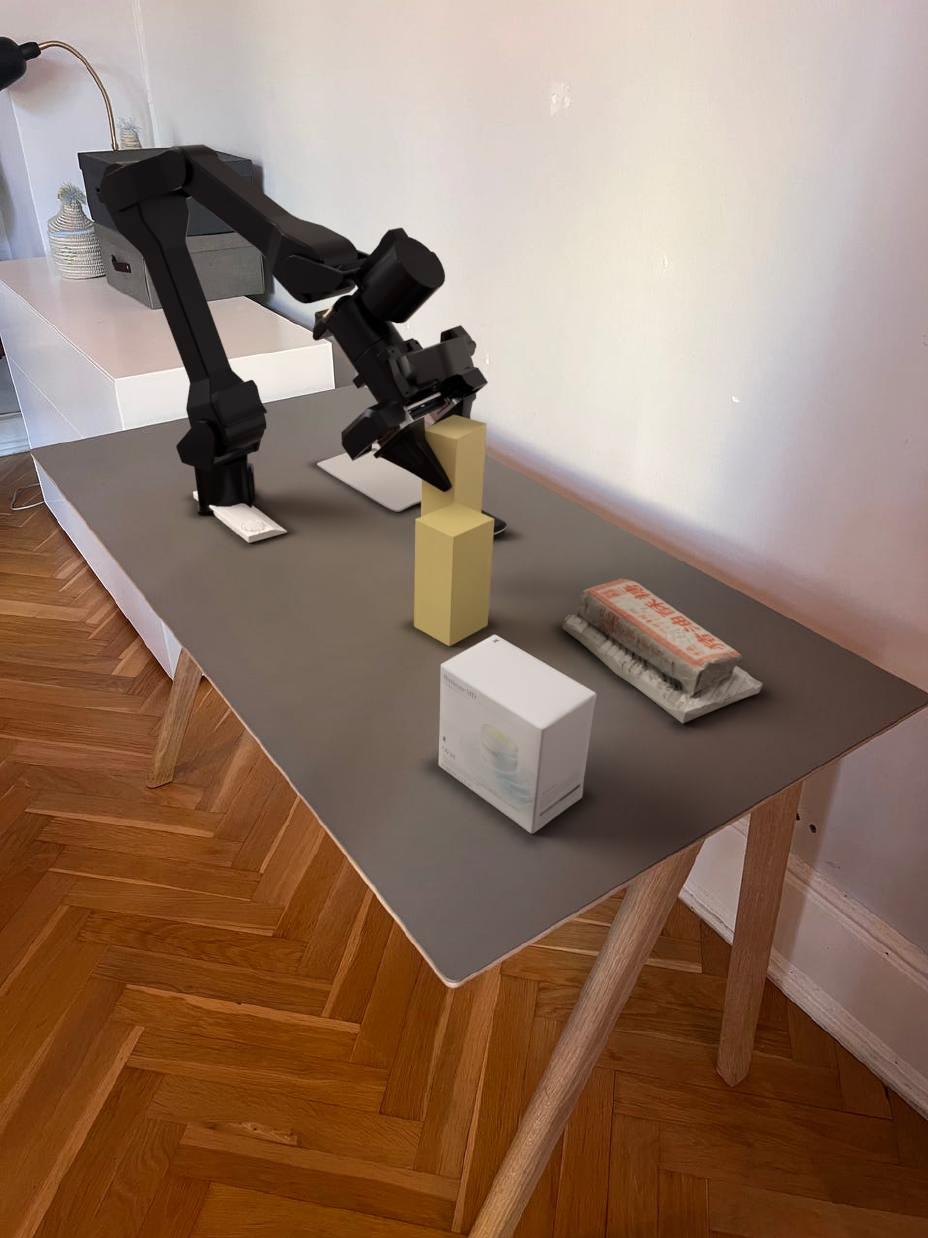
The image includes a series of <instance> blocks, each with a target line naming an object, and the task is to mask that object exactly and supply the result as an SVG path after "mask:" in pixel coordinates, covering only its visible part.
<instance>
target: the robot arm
mask: <svg viewBox="0 0 928 1238" xmlns="http://www.w3.org/2000/svg"><path fill="white" fill-rule="evenodd" d="M99 191H100V195H101V199H102V201H103V204H104V206H105V208H106V210H107V213H108V214H109V216H110V218H111V220H112V222H113V224H114V226H115V228H116V230H117V232H118V233H119V234H120V235H121V236H122V237H124V239H126V241H127V242H129V243H130V245H132V246H133V247H134V248H135V249H136V250H137V251H138V252H139V253H140V254H141V256H142V259H143V261H144V265H145V266H146V269H147V272H148V274H149V276H150V280H151V282H152V285H153V287H154V290H155V293H156V295H157V298H158V301H159V304H160V306H161V310H162V311H163V314H164V316H165V317H164V318H165V320H166V322H167V325H168V327H169V330H170V332H171V335H172V338H173V340H174V344H175V346H176V349H177V351H178V354H179V356H180V359H181V362H182V365H183V367H184V370H185V372H186V375H187V378H188V382H189V386H188V393H187V401H186V405H185V406H186V407H185V411H186V414H187V418H188V422H189V425H190V429H188V431H187V432H186V433H185V435H184V436H183V437H182V438H181V439H180V440H179V441H178V443H177V444H176V445H175V448H176V451H177V453H178V457H179V458H180V459H179V460H180V461H181V463H182V464H184V465H187V466H190V467H193V469H194V476H195V484H196V485H195V486H196V491H197V494H198V501H197V508H196V512H197V514H198V515H214V511H213V510H212V509H211V508H210V507H209V505H212V506H216V507H226V506H227V507H231V506H233V505H237V504H240V503H241V504H246V505H247V506H249V507H250V508H252V505H253V503H255V502H256V496H257V491H256V480H255V478H256V477H255V467H254V464H253V463H252V462H249V455H250V454H252V453H256V452H258V451H259V450H260V446H261V443H262V438H263V436H264V435H265V430H266V429H267V420H266V416H265V414H268V410H267V409H266V407H265V405H264V404H263V402H262V399H261V396H260V393H259V388H258V385H257V384H256V382H255V380H253V379H249V380H246V381H245V380H243V379H242V378H241V377H240V376H239V375H238V374H237V373H236V372H235V371H234V370H233V368H232V366H231V364H230V361H229V359H228V356H227V353H226V349H225V347H224V345H223V343H222V339H221V336H220V333H219V331H218V328H217V325H216V322H215V320H214V317H213V314H212V311H211V309H210V305H209V303H208V300H207V297H206V294H205V291H204V289H203V286H202V284H201V281H200V278H199V275H198V272H197V270H196V267H195V264H194V261H193V258H192V255H191V253H190V250H189V247H188V243H187V234H188V229H189V222H190V216H191V215H190V213H191V212H190V208H189V204H188V200H189V199H191V198H192V199H194V200H195V201H196V202H197V203H198V204H200V205H201V206H202V207H203V208H205V209H206V210H207V211H208V212H210V213H211V214H212V215H214V216H215V217H216V218H217V219H219V220H220V221H221V222H222V223H224V224H225V225H226V226H228V228H230V229H231V230H232V231H234V233H236V234H237V235H238V236H240V237H241V238H243V240H245V241H246V242H247V243H248V244H250V245H251V246H252V247H254V248H255V249H257V250H258V252H260V254H261V255H262V256H263V257H264V258H265V260H266V263H267V265H268V269H269V272H270V274H271V275H272V277H273V278H274V280H276V281H277V282H278V283H279V284H280V286H281V287H282V288H283V289H284V290H285V291H286V293H288V294H289V295H290V296H291V298H293V299H294V300H295V301H297V302H298V303H300V304H304V305H307V304H313V303H317V302H320V301H325V300H328V299H333V298H335V297H338V298H337V299H336V301H335V302H334V303H333V304H332V305H331V307H330V308H326V309H322V310H318V311H315V312H314V325H313V328H312V340H314V341H315V342H317V341H320V340H321V341H322V340H325V339H327V338H330V337H332V338H333V339H334V341H335V342H336V343H337V345H338V346H339V349H341V351H342V353H343V354H344V356H345V357H346V358H347V360H348V361H349V363H350V364H351V366H352V367H353V369H354V371H356V373H357V375H356V376H355V377H354V378H353V379H352V383H353V384H354V386H355V387H356V388H357V390H358V389H360V388H361V389H362V388H364V387H366V388H367V389H368V391H369V392H370V394H371V395H372V397H373V399H374V400H375V401H376V402H377V403H375V404H373V405H370V406H369V407H366V408H365V409H364V410H363V411H362V412H361V413H360V414H359V415H358V416H357V417H356V418H354V419H353V421H352V422H350V423H349V424H348V425H347V426H346V427H345V429H343V430H342V431H341V436H340V437H341V446H342V448H343V449H344V451H345V453H347V454H348V455H349V457H350V458H351V459H352V461H354V460H356V459H358V458H360V457H362V456H364V455H366V454H368V453H369V452H371V451H372V452H373V450H372V444H375V442H376V444H378V445H379V446H380V449H379V450H375V451H376V452H375V451H374V452H375V453H374V454H373V456H374V457H375V458H376V459H377V458H380V457H381V458H383V459H385V460H387V461H389V462H391V463H393V464H395V465H397V466H399V467H401V468H403V469H405V470H407V471H409V472H410V473H412V474H414V475H416V476H417V477H419V478H421V479H422V480H424V481H426V482H427V483H429V484H431V485H432V486H434V487H436V488H437V489H439V490H441V491H443V492H446V491H448V490H449V489H451V488H452V484H451V482H450V480H449V478H448V476H447V474H446V472H445V471H444V469H443V467H442V466H441V464H440V462H439V460H438V459H437V457H436V455H435V454H434V452H433V450H432V449H431V447H430V445H429V444H428V442H427V440H426V438H425V429H426V422H425V420H426V419H425V416H427V415H429V416H430V418H431V419H432V420H433V422H434V423H433V424H431V425H430V426H432V425H434V424H436V423H438V422H440V421H442V420H444V419H446V418H448V417H450V416H452V415H457V416H460V417H464V418H468V419H471V413H472V407H473V405H474V402H475V401H476V399H477V393H479V392H480V391H481V390H482V389H483V388H484V387H485V386H487V385H488V383H489V382H488V380H487V379H486V378H485V375H484V374H483V373H482V371H481V370H480V368H479V367H477V366H475V365H474V362H473V358H472V357H473V356H474V355H475V353H476V349H477V343H476V341H475V340H473V338H472V337H471V335H470V333H468V332H467V331H466V329H465V328H464V327H463V326H462V324H460V325H457V326H454V327H451V328H448V329H446V330H443V331H441V332H440V337H439V342H438V343H435V344H432V345H430V346H426V347H423V346H422V344H421V343H420V342H419V340H417V339H415V338H414V337H412V338H409V339H406V340H405V339H404V338H403V336H402V335H401V334H400V332H399V330H398V329H397V328H396V325H394V324H405V323H406V322H408V321H409V320H410V319H411V318H412V317H413V316H414V315H415V314H416V313H417V312H418V311H419V309H421V308H422V307H423V305H425V304H426V303H427V302H428V300H430V298H431V297H433V295H434V294H436V292H437V291H438V290H439V289H440V288H441V287H442V286H443V285H444V284H445V281H446V272H445V268H444V266H443V263H442V262H441V260H440V258H439V256H438V255H437V254H436V253H435V252H434V251H431V250H430V249H429V247H427V246H426V245H425V244H424V243H423V242H421V241H419V240H418V239H416V238H413V237H410V236H409V235H408V233H407V232H406V230H405V229H404V228H403V227H396V228H391V229H388V230H387V231H386V232H385V233H384V235H383V236H382V238H381V239H380V241H379V243H378V244H377V246H376V247H375V248H374V249H373V250H372V252H371V253H368V252H365V251H362V250H359V249H357V248H356V246H355V245H354V243H353V242H352V241H351V240H350V239H349V238H347V237H346V236H345V235H342V234H340V233H338V232H336V231H334V230H332V229H330V228H328V227H326V226H324V225H322V224H319V223H316V222H313V221H312V222H311V221H308V220H305V219H301V218H299V217H298V216H295V215H293V214H292V213H290V212H289V211H288V210H286V209H285V208H284V207H282V206H281V205H280V204H278V203H277V202H276V201H275V200H273V199H272V198H271V197H270V196H268V195H267V194H266V193H264V192H263V191H262V190H261V189H259V188H258V187H257V186H256V185H255V184H253V183H251V181H249V180H248V179H246V178H245V177H244V176H242V175H241V174H240V173H239V172H237V171H236V170H235V169H233V167H231V166H230V165H228V164H227V163H226V162H224V161H223V160H222V158H220V157H219V155H218V153H217V152H216V151H215V150H214V149H213V148H212V147H210V146H207V145H205V144H186V145H172V146H171V147H169V148H168V149H166V150H164V151H162V152H160V153H158V154H156V155H153V156H150V157H146V158H142V159H139V160H130V161H128V160H127V161H117V162H111V163H109V164H108V165H107V166H106V167H105V169H104V171H103V174H102V178H101V180H100V183H99ZM356 287H357V289H356V290H355V288H356ZM353 290H355V291H354V292H353V293H352V294H350V293H351V292H352V291H353ZM339 296H340V297H339Z"/></svg>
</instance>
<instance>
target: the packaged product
mask: <svg viewBox="0 0 928 1238" xmlns="http://www.w3.org/2000/svg"><path fill="white" fill-rule="evenodd" d="M579 600H580V603H579V605H578V609H577V612H576V613H574V614H571V615H570V614H567V615H566V617H565V618H564V621H563V625H562V629H563V630H564V631H565V632H567V633H568V634H569V635H571V636H572V637H573V638H574V639H576V640H577V641H578V642H580V643H581V644H582V645H583V646H584V647H585V648H586V649H588V650H589V651H590V652H591V653H592V654H593V655H594V656H595V657H597V658H598V659H599V660H601V662H602V663H604V664H605V666H607V667H608V668H609V669H610V670H611V671H612V672H613V673H614V674H615V675H617V676H618V677H620V678H621V679H623V680H624V681H626V682H627V683H628V684H631V685H632V686H633V687H635V688H636V689H638V690H639V691H640V692H641V693H643V694H644V695H645V696H647V697H648V698H649V699H650V700H651V701H652V702H654V703H656V704H657V705H658V706H659V707H661V709H663V710H664V711H666V712H667V713H668V714H670V715H671V716H672V717H673V718H675V720H677V721H679V723H681V724H685V723H687V722H690V721H692V720H695V719H696V718H699V717H701V716H704V715H707V714H709V713H711V712H713V711H715V710H718V709H720V708H723V707H726V706H728V705H730V704H734V703H735V702H738V701H741V700H743V699H746V698H748V697H752V696H754V695H757V694H759V693H760V691H761V689H762V687H763V684H764V683H763V682H761V681H759V680H757V679H756V678H754V677H752V676H751V674H749V672H747V671H746V670H744V669H742V668H741V667H738V666H739V664H740V663H741V662H742V661H743V658H744V657H743V656H742V654H740V653H739V652H738V651H737V650H735V649H734V648H732V647H731V646H730V645H728V644H726V643H725V642H724V641H722V640H721V639H720V638H719V637H716V636H715V635H713V634H712V633H711V632H710V631H708V630H706V629H705V628H703V626H701V625H699V624H698V623H696V622H695V621H694V620H692V619H691V618H689V617H687V616H686V615H685V614H683V613H681V612H680V611H678V610H676V608H675V607H673V606H671V605H670V604H668V603H667V602H665V601H664V600H663V599H662V598H659V597H658V596H657V595H655V594H654V593H652V592H651V591H650V590H648V589H647V588H645V587H644V586H643V585H642V584H640V583H639V582H636V581H634V580H632V579H625V578H618V579H616V580H612V581H610V582H606V583H601V584H598V585H595V586H592V587H590V588H586V589H584V590H582V591H581V595H580V597H579Z"/></svg>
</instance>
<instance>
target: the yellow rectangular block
mask: <svg viewBox="0 0 928 1238" xmlns="http://www.w3.org/2000/svg"><path fill="white" fill-rule="evenodd" d="M433 424H434V423H433ZM431 425H432V424H431ZM431 425H430V426H428V427H425V438H426V440H427V442H428V444H429V445H430V447H431V449H432V450H433V452H434V454H435V455H436V457H437V459H438V460H439V462H440V464H441V466H442V467H443V469H444V471H445V472H446V474H447V476H448V478H449V480H450V482H451V484H452V488H451V489H449V490H448V491H446V492H443V491H441V490H439V489H437V488H436V487H434V486H432V485H431V484H429V483H427V482H426V481H424V480H422V493H421V503H420V517H422V516H424V515H427V514H429V513H432V512H434V511H436V510H439V509H441V508H444V507H446V506H449V505H451V504H454V503H456V502H457V503H459V504H461V505H464V506H466V507H468V508H471V509H473V510H475V511H477V512H480V513H481V510H482V507H483V505H482V504H483V489H484V475H485V473H484V472H485V460H486V459H485V458H486V457H485V455H486V443H487V441H486V439H487V428H488V427H487V426H488V425H487V423H486V422H483V421H480V420H476V419H471V418H470V419H468V418H464V417H460V416H457V415H452V416H450V417H448V418H446V419H444V420H442V421H440V422H438V423H436V424H434V425H432V426H431Z"/></svg>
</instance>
